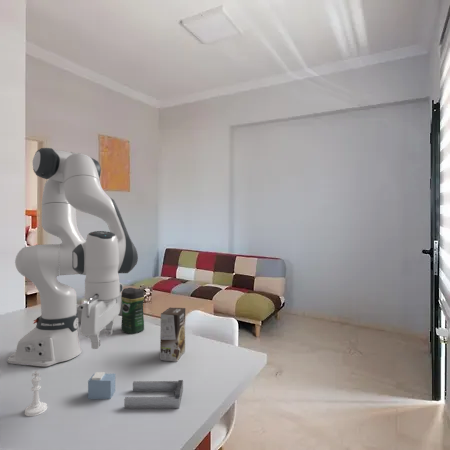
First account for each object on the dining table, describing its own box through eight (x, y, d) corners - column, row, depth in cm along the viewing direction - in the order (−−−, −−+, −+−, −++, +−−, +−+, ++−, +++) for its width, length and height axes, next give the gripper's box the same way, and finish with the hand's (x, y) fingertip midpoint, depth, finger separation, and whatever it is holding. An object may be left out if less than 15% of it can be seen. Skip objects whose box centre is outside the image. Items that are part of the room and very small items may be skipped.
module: (88, 399, 85) (88, 378, 85) (93, 391, 89) (93, 371, 89) (110, 399, 86) (110, 378, 85) (115, 391, 90) (115, 371, 89)
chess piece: (31, 405, 82) (30, 366, 82) (50, 404, 83) (50, 366, 83) (20, 416, 78) (20, 376, 77) (41, 416, 78) (41, 375, 78)
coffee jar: (147, 330, 138) (147, 288, 137) (132, 336, 131) (132, 291, 131) (133, 326, 143) (133, 285, 143) (118, 331, 137) (118, 288, 137)
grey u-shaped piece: (124, 408, 81) (124, 396, 81) (133, 389, 90) (133, 378, 90) (179, 408, 81) (179, 395, 81) (183, 389, 90) (183, 378, 90)
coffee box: (177, 362, 108) (177, 314, 107) (159, 360, 109) (159, 313, 109) (186, 351, 117) (186, 307, 116) (169, 349, 118) (169, 306, 118)
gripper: (99, 299, 77) (100, 356, 77) (124, 283, 97) (124, 328, 97) (73, 299, 76) (73, 357, 77) (104, 283, 97) (104, 329, 97)
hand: (102, 341), depth 87 cm, fingers open, 8 cm apart
